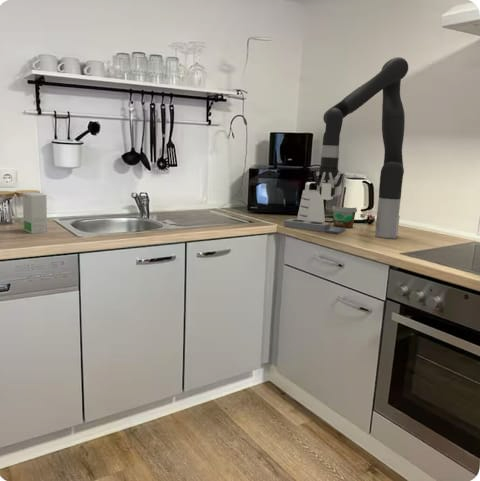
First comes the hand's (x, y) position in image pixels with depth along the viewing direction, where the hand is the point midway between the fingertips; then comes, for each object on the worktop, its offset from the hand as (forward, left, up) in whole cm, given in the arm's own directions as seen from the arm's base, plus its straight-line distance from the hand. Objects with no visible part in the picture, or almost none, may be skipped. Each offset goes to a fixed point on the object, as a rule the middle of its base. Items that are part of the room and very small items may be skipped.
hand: (326, 195), depth 199 cm
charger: (0, 0, -2) cm, 2 cm away
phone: (-3, -9, -17) cm, 20 cm away
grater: (+17, -32, -17) cm, 41 cm away
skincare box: (+99, +72, -17) cm, 124 cm away
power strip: (+11, -9, -17) cm, 23 cm away
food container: (-2, -23, -17) cm, 29 cm away
